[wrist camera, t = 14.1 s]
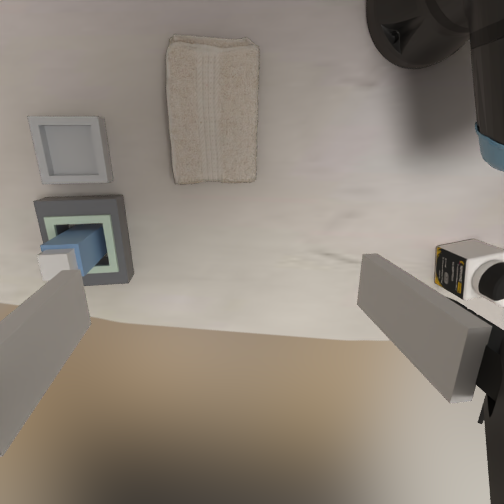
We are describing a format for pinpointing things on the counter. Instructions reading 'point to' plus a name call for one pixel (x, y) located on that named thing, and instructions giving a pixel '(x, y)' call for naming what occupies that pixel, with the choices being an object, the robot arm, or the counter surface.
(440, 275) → the medicine bottle
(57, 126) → the grey square tray
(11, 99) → the counter surface
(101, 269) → the port block
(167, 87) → the washcloth
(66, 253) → the plug
